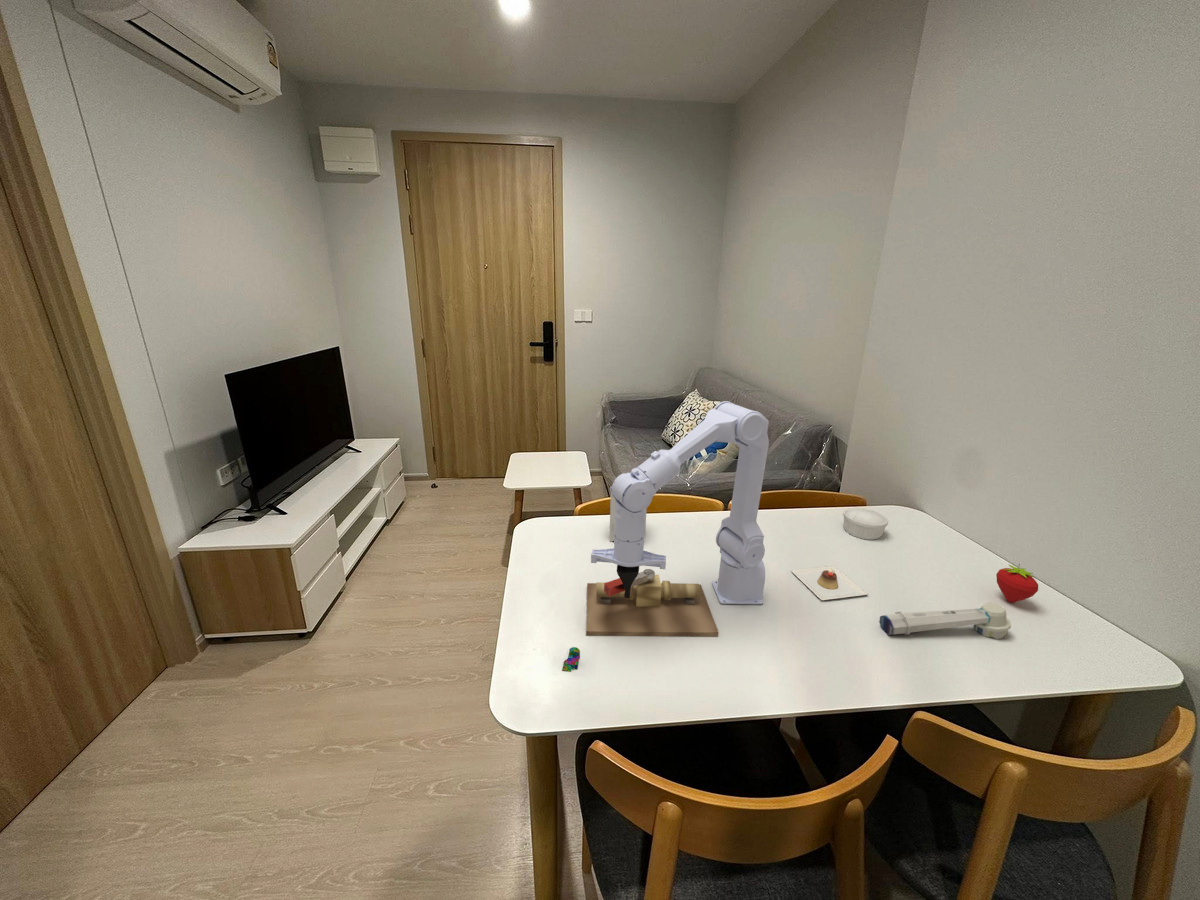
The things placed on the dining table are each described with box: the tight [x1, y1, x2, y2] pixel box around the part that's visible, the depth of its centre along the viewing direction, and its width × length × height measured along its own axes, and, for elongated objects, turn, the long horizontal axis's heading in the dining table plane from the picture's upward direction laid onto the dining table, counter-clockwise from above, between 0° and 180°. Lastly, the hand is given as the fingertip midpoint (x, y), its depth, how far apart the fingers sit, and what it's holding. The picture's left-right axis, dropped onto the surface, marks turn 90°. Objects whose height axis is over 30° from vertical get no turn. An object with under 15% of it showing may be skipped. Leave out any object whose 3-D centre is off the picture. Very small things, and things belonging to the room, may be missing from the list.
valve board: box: [585, 574, 720, 638], centre depth 99 cm, size 26×16×6 cm, turn 91°
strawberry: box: [996, 563, 1039, 604], centre depth 104 cm, size 6×8×10 cm
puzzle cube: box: [561, 646, 581, 673], centre depth 85 cm, size 4×3×2 cm, turn 174°
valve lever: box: [603, 568, 656, 596], centre depth 97 cm, size 12×2×2 cm, turn 121°
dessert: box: [790, 565, 869, 601], centre depth 110 cm, size 12×12×5 cm
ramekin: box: [842, 507, 889, 541], centre depth 135 cm, size 11×11×5 cm
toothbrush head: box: [878, 602, 1012, 640], centre depth 95 cm, size 5×7×25 cm
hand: (627, 595), depth 95 cm, fingers closed, pressing on valve lever
